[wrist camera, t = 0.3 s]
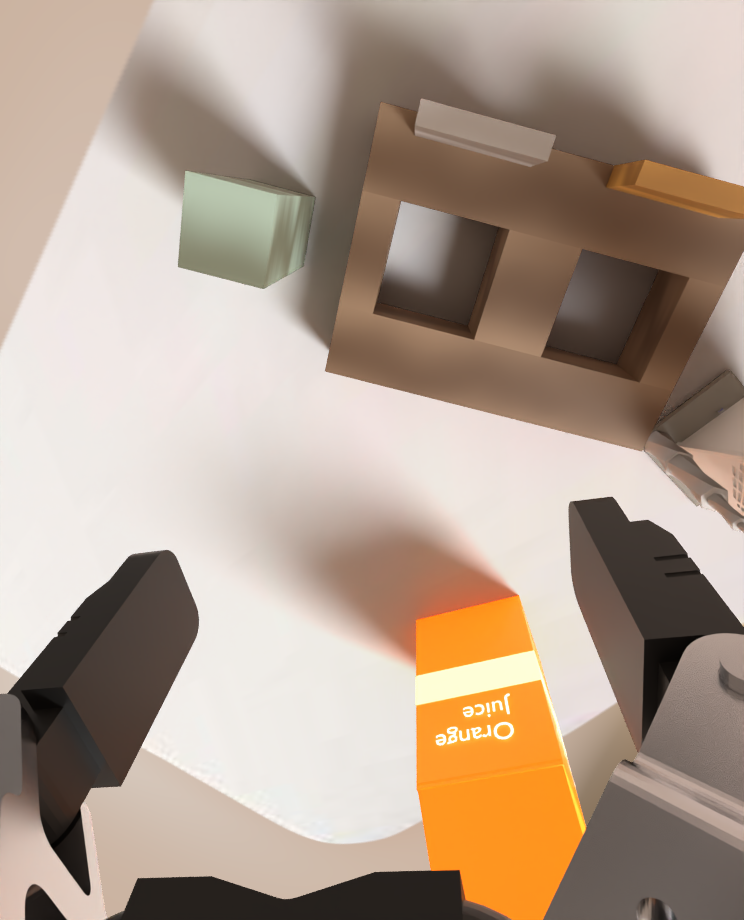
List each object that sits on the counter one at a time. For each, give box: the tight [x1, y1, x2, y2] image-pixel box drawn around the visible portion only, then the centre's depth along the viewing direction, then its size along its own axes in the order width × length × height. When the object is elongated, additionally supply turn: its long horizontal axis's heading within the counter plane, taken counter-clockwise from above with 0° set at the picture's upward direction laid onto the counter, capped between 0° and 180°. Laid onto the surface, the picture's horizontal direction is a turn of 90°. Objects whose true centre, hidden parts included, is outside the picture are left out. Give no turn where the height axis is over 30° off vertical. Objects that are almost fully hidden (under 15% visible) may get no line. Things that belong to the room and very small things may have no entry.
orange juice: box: [416, 595, 586, 920], centre depth 37 cm, size 8×9×20 cm
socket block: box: [325, 98, 744, 451], centre depth 30 cm, size 14×20×8 cm
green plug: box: [178, 171, 315, 289], centre depth 29 cm, size 4×4×10 cm
